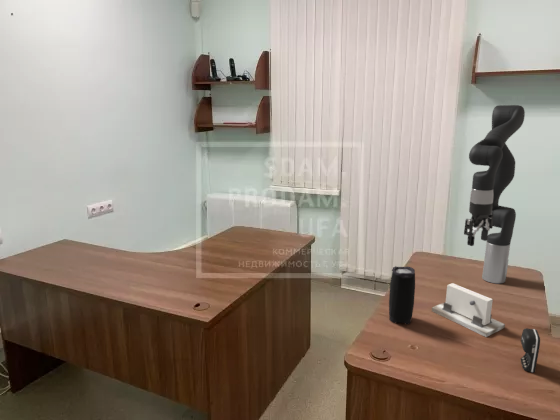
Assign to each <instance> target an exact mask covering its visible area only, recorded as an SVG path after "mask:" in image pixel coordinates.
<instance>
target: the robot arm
mask: <svg viewBox="0 0 560 420" xmlns="http://www.w3.org/2000/svg"><path fill="white" fill-rule="evenodd" d="M525 113H526V112H525V108H524V106H522V105H519V104H511V105H510V104H508V105H506V104H505V105H504V104H503V105H501V104H499V105H496V106H494V107H493V110H492V113H491V130H490V131H488V133H486V135H485V137H484V138H483V139H482V140H480V141H478V142H477V143H476V144H474V145H473V146H472V148H471V149H470V151H469V153H468V159H469V162H470V163H471V164H472V165H474V166H486V167H488V169H487V170H482V171H476V172H474V173H473V176H472V184H471V192H470V196H469V208H468V211H469V213H470V215H471V217H470V218H465V223H464V230H463V235H465V236H467V242H466V243H467V245H468V246H471V247H473V246H475V236H476V233H477V232H479V231H480V229H481V234H480V240H482V241H484V242H486V243H485V244H486V245H485V250H484V251H485V253H484V261H483V267H482V268H483V269H482V276H481V278H482V280H484V281H486V282H488V283H493V284H503V283H505V282H506V280H507V273H508V267H509V257H510V249H511V248H510V247H511V241H512V238H513V233H514V229H515V228H514V227H515V223H516V216H517V213H516V210H515V208H512V207H509V206H503V205H499V201H500V197H501V196H502V193H504V191H505V190H506V189H507V187H508V186H509V185H510V184H511V182H512V181H513V180H514V178H515V173H516V172H515V171H516V160H515V157H514V155H513V152H512V151H511V150H510V148H509V147H508V145H507V141H508V140H509V139H510V138H511V137H512V136H513V135H514V134H515V133H516V132H517V131H518V130H520V128H521V127H522V126H523V123H524V121H525ZM494 227H495V228H498V229H499V228H500V231H499V232H493V233H489V232H490V229H493V228H494Z"/></svg>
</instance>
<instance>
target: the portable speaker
mask: <svg viewBox="0 0 560 420" xmlns="http://www.w3.org/2000/svg"><path fill="white" fill-rule="evenodd" d="M391 271H392V272H391V278H390V283H389V295H388V296H389V299H388V316H389V318H388V319H389V321H390V322H392V323H393V324H396V323H403V324H404V325H409V324H411V322H412V318H413V313H414V306H415V293H416V270H415V268H414V267H412V266H396V265H395V266H394V267H392V270H391Z"/></svg>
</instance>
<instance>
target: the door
mask: <svg viewBox="0 0 560 420" xmlns="http://www.w3.org/2000/svg"><path fill="white" fill-rule="evenodd" d="M445 294H446V295H445V302H446V303H448V304H450V305H452V309H451V310H452V311H455V312H457V313H459V314H461V315H463V316H465V317H468V318H470V319H472V320H473V316H477V317H479V318H481V319H482V324H483V325H486V324H488V323H490V317H491V318H492V316H491V315H492V307H493V300H494V299H493V298H491V297H488V296H486V295H483V294H481V293H478V292H476V291H473V290H471V289H468V288H465V287H463V286H460V285H459V284H456V283H454V282H452V283H449V284H447V286H446V293H445Z"/></svg>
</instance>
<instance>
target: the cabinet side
mask: <svg viewBox="0 0 560 420" xmlns="http://www.w3.org/2000/svg"><path fill="white" fill-rule="evenodd" d="M451 309H452V305H450V304H448V303H446V301H445V302H442V303H439V304H437V305H434V306H432V307H431V312H433V313H435V314H437V315H439V316H441V317H443V318H446V319H447V320H449V321H452V322H453V323H456V324H458V325H460V326H463V328H466V329H469V330H470V331H472V332H474V333H475V334H479V335H480V336H483V337H485V338H487V337H489V336H492V335H493V334H495V333H497V332H500V331H501V330H503V329H505V326H506V323H503V322H501V321H499V320H497V319H494V318H493V316H492V314H491V317H490V323H488V324H486V325H483V324H482V319H481V318H479V317H477V316H473V320H472V319H470V318H468V317H465V316H463V315H461V314H459V313H457V312H455V311H452V310H451Z"/></svg>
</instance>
